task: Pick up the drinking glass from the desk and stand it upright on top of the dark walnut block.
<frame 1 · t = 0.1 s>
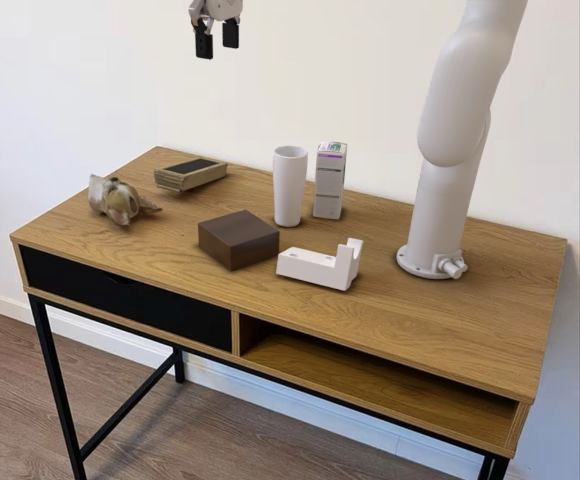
hand: (218, 52, 115), 31 cm above the table, tool pointing down, fingers open, 9 cm apart
bracket: (317, 275, 116), on the table
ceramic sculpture: (121, 218, 130), on the table
box: (196, 184, 145), on the table
syrup box: (326, 213, 136), on the table
walnut block: (238, 250, 121), on the table
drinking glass: (287, 223, 132), on the table
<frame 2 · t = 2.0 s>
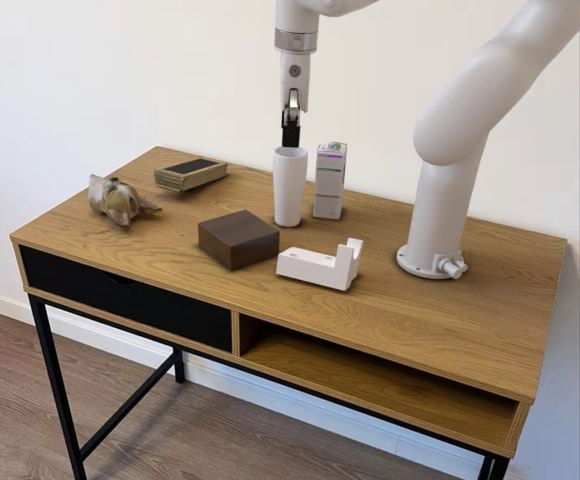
hand: (289, 137, 121), 18 cm above the table, tool pointing down, fingers open, 9 cm apart
nothing on the table moved.
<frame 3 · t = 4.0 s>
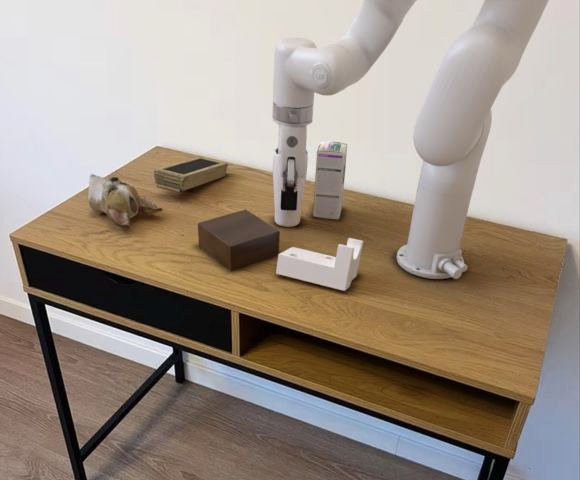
hand: (288, 201, 129), 5 cm above the table, tool pointing down, fingers closed on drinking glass, 5 cm apart
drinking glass: (287, 223, 132), on the table, touching gripper
everything else where it was.
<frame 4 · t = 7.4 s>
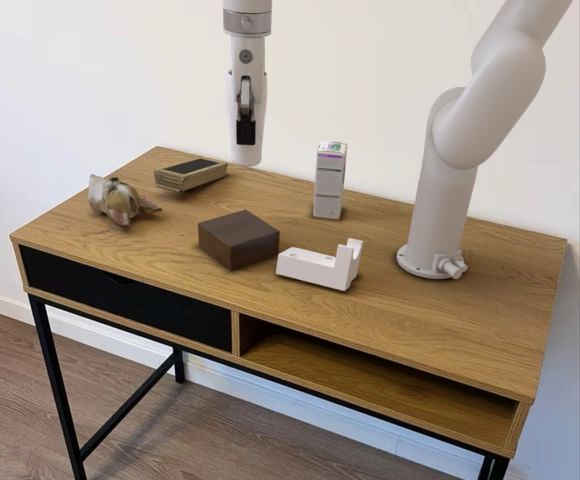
hand: (246, 136, 110), 21 cm above the table, tool pointing down, fingers closed on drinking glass, 5 cm apart
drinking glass: (246, 163, 113), point 17 cm above the table, touching gripper
everything else where it was.
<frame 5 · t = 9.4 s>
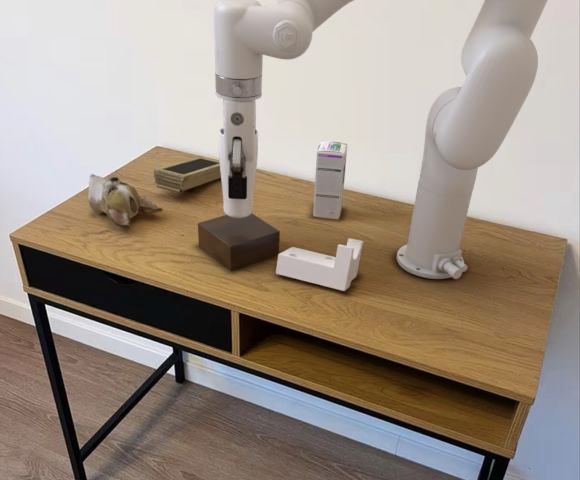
hand: (238, 189, 114), 12 cm above the table, tool pointing down, fingers closed on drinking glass, 5 cm apart
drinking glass: (238, 213, 117), point 8 cm above the table, touching gripper
everything else where it was.
when the fingers open (10 cm above the table, at t = 10.7 s): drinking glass stays where it is, resting on walnut block.
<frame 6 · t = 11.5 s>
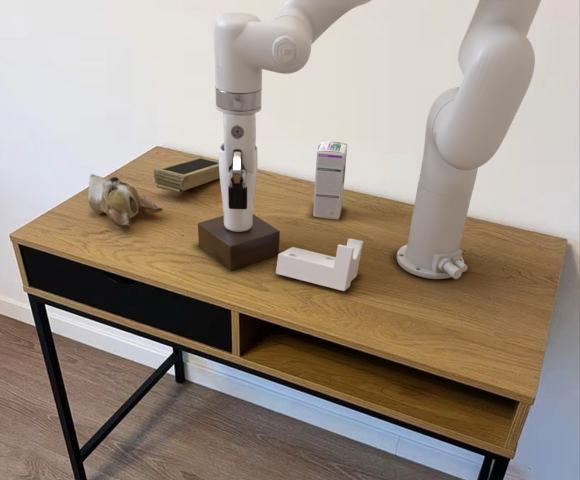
hand: (239, 196, 114), 11 cm above the table, tool pointing down, fingers open, 9 cm apart
walnut block: (238, 250, 121), on the table, touching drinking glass
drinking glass: (238, 227, 118), point 5 cm above the table, touching walnut block
everything else where it was.
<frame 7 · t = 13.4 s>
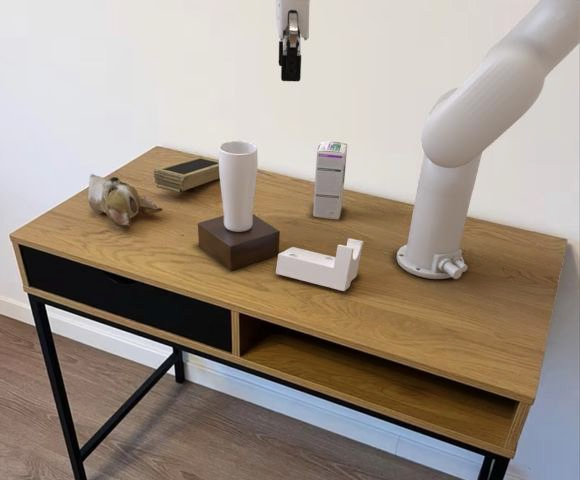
hand: (289, 73, 109), 30 cm above the table, tool pointing down, fingers open, 9 cm apart
nothing on the table moved.
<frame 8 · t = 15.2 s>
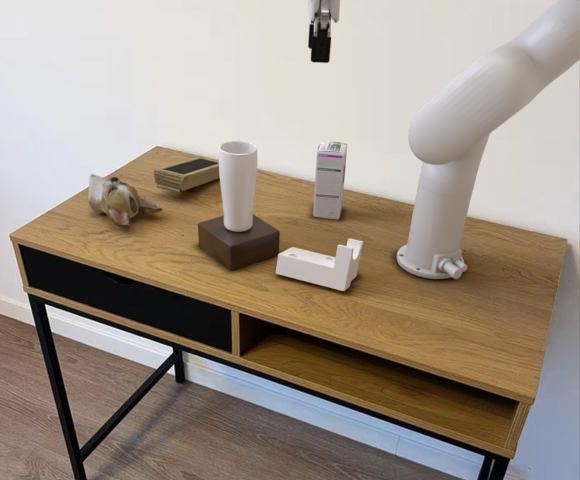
hand: (318, 55, 113), 32 cm above the table, tool pointing down, fingers open, 9 cm apart
nothing on the table moved.
at the end: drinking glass 0.1 cm off-centre on the walnut block, point 4.8 cm above the walnut block's base; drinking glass tilted 0°; the gripper is holding nothing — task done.
